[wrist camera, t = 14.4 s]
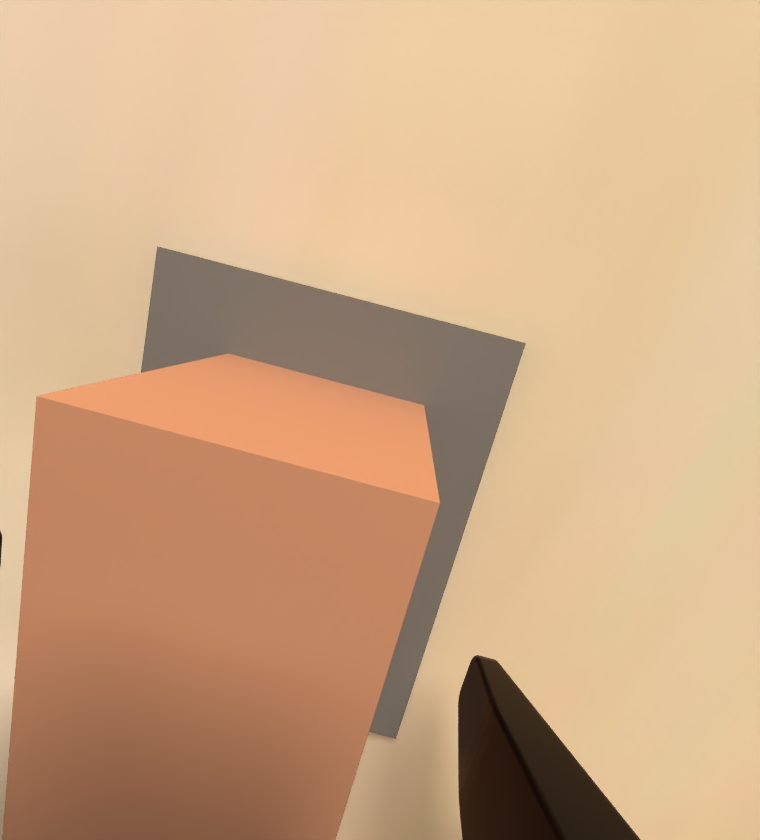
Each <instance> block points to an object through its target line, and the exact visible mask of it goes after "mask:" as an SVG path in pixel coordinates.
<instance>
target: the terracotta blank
mask: <svg viewBox="0 0 760 840" xmlns="http://www.w3.org/2000/svg"><path fill="white" fill-rule="evenodd" d="M439 505H440V500H439V494H438V488H437V482H436V475H435V469H434V463H433V457H432V451H431V445H430V438H429V432H428V426H427V420H426V414H425V407H424V405H421V404H417V403H413V402H410V401H406V400H402V399H398V398H395V397H391V396H387V395H383V394H379V393H376V392H372V391H368V390H364V389H361V388H357V387H353V386H349V385H346V384H342V383H338V382H334V381H330V380H327V379H323V378H319V377H315V376H312V375H308V374H304V373H300V372H296V371H293V370H289V369H285V368H281V367H278V366H274V365H270V364H266V363H262V362H259V361H255V360H251V359H247V358H244V357H240V356H236V355H232V354H224V355H219V356H215V357H210V358H206V359H201V360H197V361H192V362H188V363H183V364H179V365H174V366H170V367H165V368H161V369H156V370H152V371H147V372H143V373H138V374H134V375H129V376H125V377H120V378H116V379H111V380H107V381H102V382H98V383H93V384H89V385H84V386H80V387H75V388H71V389H66V390H62V391H57V392H53V393H48V394H44V395H39V396H37V399H36V412H35V425H34V438H33V451H32V464H31V477H30V490H29V502H28V515H27V528H26V541H25V554H24V567H23V580H22V593H21V606H20V619H19V632H18V645H17V658H16V671H15V684H14V697H13V710H12V723H11V736H10V749H9V762H8V775H7V788H6V801H5V814H4V827H3V840H335V839H336V836H337V832H338V829H339V826H340V823H341V820H342V816H343V813H344V810H345V807H346V804H347V800H348V797H349V794H350V791H351V787H352V784H353V781H354V778H355V775H356V771H357V768H358V765H359V762H360V759H361V755H362V752H363V749H364V746H365V742H366V739H367V736H368V733H369V730H370V726H371V723H372V720H373V717H374V714H375V710H376V707H377V704H378V701H379V697H380V694H381V691H382V688H383V685H384V681H385V678H386V675H387V672H388V669H389V665H390V662H391V659H392V656H393V652H394V649H395V646H396V643H397V640H398V636H399V633H400V630H401V627H402V624H403V620H404V617H405V614H406V611H407V607H408V604H409V601H410V598H411V595H412V591H413V588H414V585H415V582H416V579H417V575H418V572H419V569H420V566H421V562H422V559H423V556H424V553H425V550H426V546H427V543H428V540H429V537H430V534H431V530H432V527H433V524H434V521H435V517H436V514H437V511H438V508H439Z"/></svg>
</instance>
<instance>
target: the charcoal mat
mask: <svg viewBox="0 0 760 840" xmlns="http://www.w3.org/2000/svg"><path fill="white" fill-rule="evenodd" d="M525 344H526V343H522V342H519V341H515V340H511V339H507V338H503V337H500V336H496V335H492V334H488V333H484V332H481V331H477V330H473V329H469V328H465V327H462V326H458V325H454V324H450V323H446V322H443V321H439V320H435V319H431V318H427V317H424V316H420V315H416V314H412V313H408V312H404V311H401V310H397V309H393V308H389V307H385V306H382V305H378V304H374V303H370V302H366V301H363V300H359V299H355V298H351V297H347V296H344V295H340V294H336V293H332V292H328V291H325V290H321V289H317V288H313V287H309V286H306V285H302V284H298V283H294V282H290V281H287V280H283V279H279V278H275V277H271V276H268V275H264V274H260V273H256V272H252V271H249V270H245V269H241V268H237V267H233V266H230V265H226V264H222V263H218V262H214V261H211V260H207V259H203V258H199V257H195V256H192V255H188V254H184V253H180V252H176V251H173V250H169V249H165V248H161V247H157V253H156V261H155V269H154V276H153V284H152V292H151V299H150V307H149V315H148V322H147V330H146V338H145V346H144V353H143V361H142V369H141V373H143V372H147V371H152V370H156V369H161V368H165V367H170V366H174V365H179V364H183V363H188V362H192V361H197V360H201V359H206V358H210V357H215V356H219V355H224V354H232V355H236V356H240V357H244V358H247V359H251V360H255V361H259V362H262V363H266V364H270V365H274V366H278V367H281V368H285V369H289V370H293V371H296V372H300V373H304V374H308V375H312V376H315V377H319V378H323V379H327V380H330V381H334V382H338V383H342V384H346V385H349V386H353V387H357V388H361V389H364V390H368V391H372V392H376V393H379V394H383V395H387V396H391V397H395V398H398V399H402V400H406V401H410V402H413V403H417V404H421V405H424V407H425V414H426V420H427V426H428V432H429V438H430V445H431V451H432V457H433V463H434V469H435V475H436V482H437V488H438V494H439V500H440V505H439V508H438V511H437V514H436V517H435V521H434V524H433V527H432V530H431V534H430V537H429V540H428V543H427V546H426V550H425V553H424V556H423V559H422V562H421V566H420V569H419V572H418V575H417V579H416V582H415V585H414V588H413V591H412V595H411V598H410V601H409V604H408V607H407V611H406V614H405V617H404V620H403V624H402V627H401V630H400V633H399V636H398V640H397V643H396V646H395V649H394V652H393V656H392V659H391V662H390V665H389V669H388V672H387V675H386V678H385V681H384V685H383V688H382V691H381V694H380V697H379V701H378V704H377V707H376V710H375V714H374V717H373V720H372V723H371V726H370V730H369V732H373V733H377V734H380V735H384V736H388V737H392V738H395V739H396V736H397V733H398V730H399V727H400V724H401V721H402V718H403V715H404V712H405V709H406V706H407V703H408V700H409V697H410V694H411V691H412V688H413V685H414V682H415V679H416V676H417V673H418V669H419V666H420V663H421V660H422V657H423V654H424V651H425V648H426V645H427V642H428V639H429V636H430V633H431V630H432V627H433V624H434V621H435V618H436V615H437V612H438V609H439V606H440V602H441V599H442V596H443V593H444V590H445V587H446V584H447V581H448V578H449V575H450V572H451V569H452V566H453V563H454V560H455V557H456V554H457V551H458V548H459V545H460V542H461V539H462V535H463V532H464V529H465V526H466V523H467V520H468V517H469V514H470V511H471V508H472V505H473V502H474V499H475V496H476V493H477V490H478V487H479V484H480V481H481V478H482V475H483V471H484V468H485V465H486V462H487V459H488V456H489V453H490V450H491V447H492V444H493V441H494V438H495V435H496V432H497V429H498V426H499V423H500V420H501V417H502V414H503V411H504V408H505V404H506V401H507V398H508V395H509V392H510V389H511V386H512V383H513V380H514V377H515V374H516V371H517V368H518V365H519V362H520V359H521V356H522V353H523V350H524V347H525Z"/></svg>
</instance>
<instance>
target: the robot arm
mask: <svg viewBox="0 0 760 840" xmlns="http://www.w3.org/2000/svg"><path fill="white" fill-rule="evenodd" d="M1 548H2V534H1V532H0V565H1ZM458 778H459V806H460V818H461V828H462V838H463V840H640V839H639V837H638V836H637V835H636V834H635V832H634V831H633V830H632V829H631V827H630V826H629V825H628V824H627V822H626V821H625V820H624V819H623V817H622V816H621V815H620V814H619V812H618V811H617V810H616V809H615V807H614V806H613V805H612V804H611V802H610V801H609V800H608V799H607V797H606V796H605V795H604V794H603V792H602V791H601V790H600V789H599V787H598V786H597V785H596V784H595V782H594V781H593V780H592V779H591V777H590V776H589V775H588V774H587V772H586V771H585V770H584V769H583V767H582V766H581V765H580V764H579V762H578V761H577V760H576V759H575V757H574V756H573V755H572V754H571V752H570V751H569V750H568V749H567V747H566V746H565V745H564V744H563V742H562V741H561V740H560V739H559V738H558V736H557V735H556V734H555V733H554V731H553V730H552V729H551V728H550V726H549V725H548V724H547V723H546V721H545V720H544V719H543V718H542V716H541V715H540V714H539V713H538V711H537V710H536V709H535V708H534V706H533V705H532V704H531V703H530V701H529V700H528V699H527V698H526V696H525V695H524V694H523V693H522V691H521V690H520V689H519V688H518V686H517V685H516V684H515V683H514V681H513V680H512V679H511V678H510V676H509V675H508V674H507V673H506V671H505V670H504V669H503V668H502V666H501V665H500V664H499V663H498V662H497V661H496V660H494V659H490V658H487V657H483V656H479V655H476V656H474V657H473V659H472V660H471V662H470V665H469V668H468V671H467V674H466V676H465V679H464V682H463V685H462V687H461V691H460V695H459V703H458Z"/></svg>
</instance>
